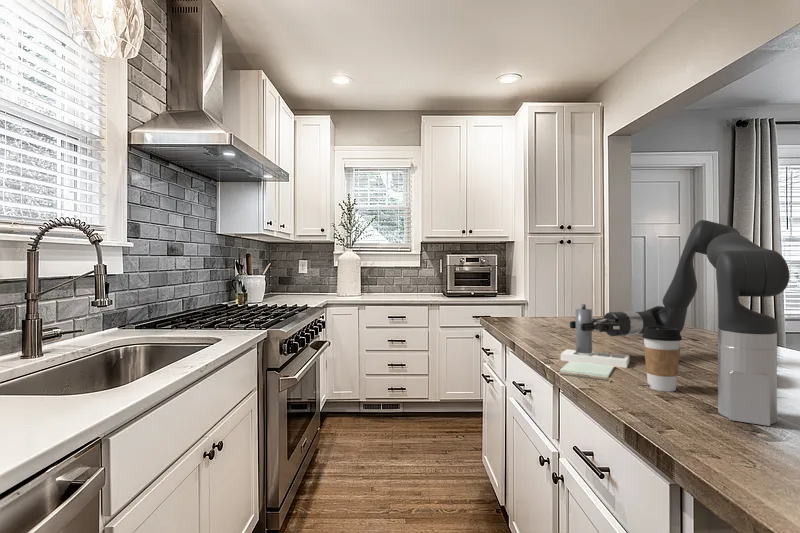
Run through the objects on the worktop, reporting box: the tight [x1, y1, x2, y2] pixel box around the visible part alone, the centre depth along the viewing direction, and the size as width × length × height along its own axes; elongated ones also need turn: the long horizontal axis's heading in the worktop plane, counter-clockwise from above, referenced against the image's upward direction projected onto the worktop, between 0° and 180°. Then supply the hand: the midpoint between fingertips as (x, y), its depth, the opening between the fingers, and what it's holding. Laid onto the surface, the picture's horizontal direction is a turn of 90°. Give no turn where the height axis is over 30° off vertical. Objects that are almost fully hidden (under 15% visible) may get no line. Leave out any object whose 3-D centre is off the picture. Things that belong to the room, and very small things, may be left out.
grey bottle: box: [575, 303, 593, 353], centre depth 133 cm, size 5×5×14 cm
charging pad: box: [559, 361, 615, 382], centre depth 122 cm, size 12×12×2 cm
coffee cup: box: [642, 327, 683, 393], centre depth 107 cm, size 8×8×15 cm
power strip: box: [560, 348, 630, 369], centre depth 130 cm, size 8×24×3 cm, turn 57°
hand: (576, 326), depth 133 cm, fingers closed on grey bottle, 4 cm apart
